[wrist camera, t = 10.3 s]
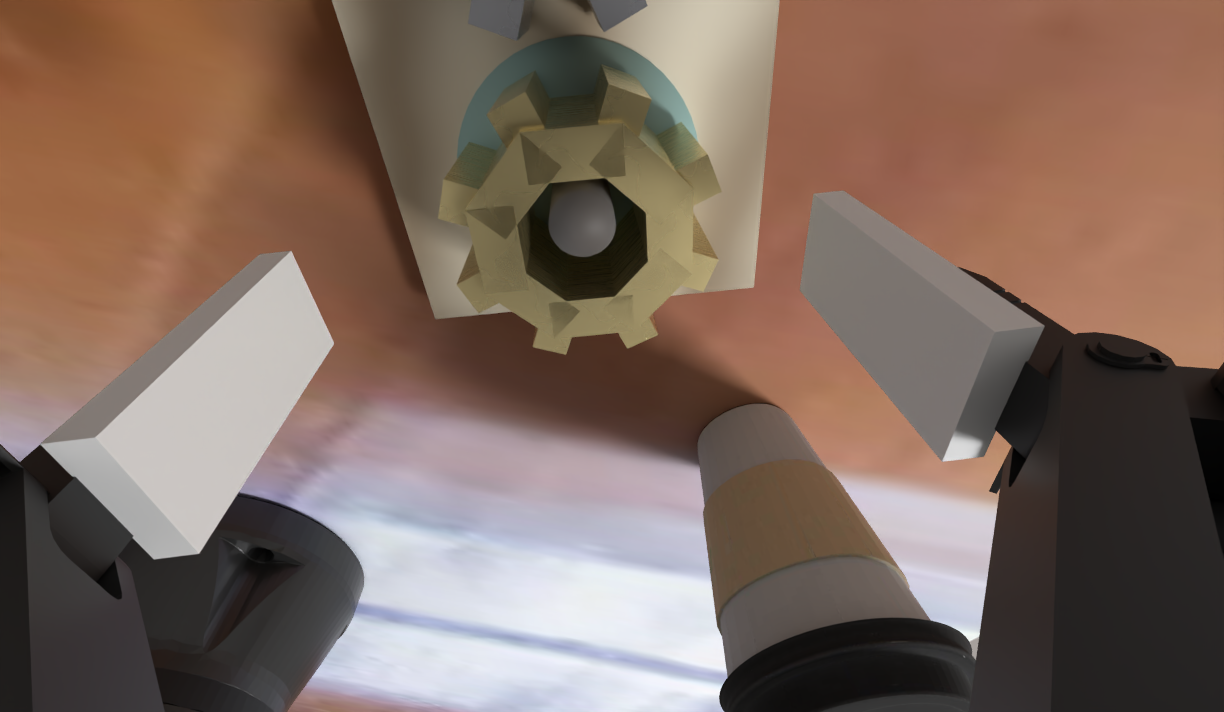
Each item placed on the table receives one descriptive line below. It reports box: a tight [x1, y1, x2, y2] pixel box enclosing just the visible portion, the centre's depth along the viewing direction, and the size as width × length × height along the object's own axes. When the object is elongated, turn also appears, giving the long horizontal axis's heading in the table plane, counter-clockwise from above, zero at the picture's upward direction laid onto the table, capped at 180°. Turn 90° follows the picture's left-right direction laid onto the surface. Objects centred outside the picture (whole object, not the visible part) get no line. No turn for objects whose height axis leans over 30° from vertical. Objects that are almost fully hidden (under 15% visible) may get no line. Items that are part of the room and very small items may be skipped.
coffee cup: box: [697, 404, 976, 712], centre depth 24 cm, size 9×9×15 cm
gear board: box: [332, 0, 779, 319], centre depth 15 cm, size 14×20×7 cm
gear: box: [438, 64, 722, 355], centre depth 18 cm, size 8×8×5 cm
